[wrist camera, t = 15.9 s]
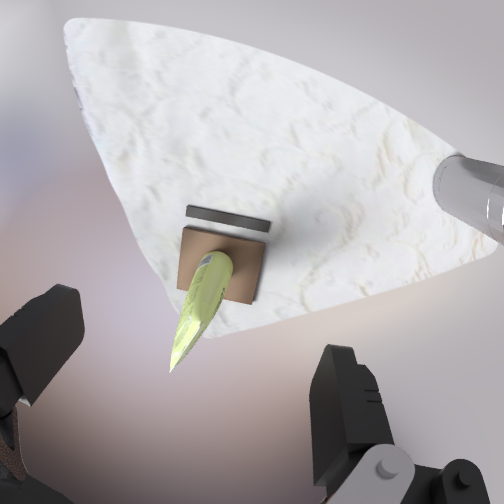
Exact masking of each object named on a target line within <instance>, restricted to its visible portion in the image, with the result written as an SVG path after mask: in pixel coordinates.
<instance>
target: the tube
mask: <svg viewBox="0 0 504 504" xmlns="http://www.w3.org/2000/svg"><path fill="white" fill-rule="evenodd" d="M232 272H233V263H232V261H231V259H230V258H229V257H228V256H227V255H226V254H225V253H223V252H219V251H212V252H209V253H207V254H206V255H205V256H204V257H203V258H202V260H201V262H200V264H199V266H198V268H197V270H196V273H195V275H194V277H193V280H192V282H191V285H190V288H189V290H188V293H187V296H186V299H185V302H184V306H183V309H182V312H181V316H180V320H179V324H178V328H177V331H176V336H175V340H174V344H173V349H172V356H171V365H170V366H171V367H170V368H171V369H170V373H171V371H172V370H173V368H174V367H175V366H176V365H178V364H179V363H180V361H182V359H183V358H184V357H185V356H186V355H187V354H188V353H189V351H190V350H191V349H192V347H193V346H194V345H195V343H196V342H197V340H198V339H199V338H200V336H201V335H202V333H203V332H204V330H205V329H206V328H207V326H208V325H209V323H210V322H211V320H212V319H213V317H214V316H215V314H216V312H217V310H218V308H219V306H220V304H221V302H222V300H223V297H224V295H225V292H226V290H227V287H228V284H229V281H230V279H231V276H232Z"/></svg>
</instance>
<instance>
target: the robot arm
mask: <svg viewBox="0 0 504 504" xmlns="http://www.w3.org/2000/svg"><path fill="white" fill-rule="evenodd" d="M433 192H434V196H435V199H436V202H437V203H438V205H439V206H440V207H441V208H442V210H444V211H445V212H447V213H449V214H451V215H453V216H454V217H456V218H458V219H460V220H461V221H463V222H465V223H467V224H469V225H470V226H472V227H474V228H476V229H477V230H479V231H481V232H482V233H484V234H486V235H487V236H489V237H491V238H492V239H494V240H496V241H497V242H499V243H501V244H502V245H504V166H500V165H496V164H492V163H488V162H484V161H479V160H474V159H470V158H465V157H459V156H451V157H449V158H447V159H445V160H444V161H442V163H441V164H440V165H439V166H438V168H437V170H436V172H435V175H434V180H433ZM84 332H85V327H84V320H83V314H82V308H81V300H80V294H79V292H78V290H77V289H74V288H71V287H67V286H64V285H61V284H56V285H55V286H53V287H52V288H51V289H50V290H48V291H47V292H46V293H45V294H43V295H40V296H38V297H36V298H33V299H31V300H30V301H29V302H27V303H26V304H25V305H24V306H22V308H21V309H19V310H18V311H17V312H15V313H14V316H11V317H9V318H8V319H7V320H6V321H5V322H4V323H3V324H2V325H0V504H74V503H73V502H71V501H70V500H69V499H68V498H66V497H65V496H64V495H63V494H61V493H59V492H57V491H55V490H54V489H52V488H50V487H48V486H47V485H45V484H43V483H41V482H40V481H38V480H36V479H35V478H33V477H31V476H30V475H28V472H27V470H26V468H25V466H24V463H23V461H22V457H21V450H20V441H19V428H18V411H17V407H16V405H15V404H16V403H17V402H18V400H20V401H22V402H24V403H25V404H27V405H29V406H30V407H31V406H32V405H33V403H34V402H35V401H36V399H37V398H38V397H39V395H40V394H41V393H42V391H43V390H44V389H45V388H46V386H47V385H48V384H49V382H50V381H51V380H52V379H53V377H54V376H55V375H56V374H57V372H58V371H59V370H60V368H61V367H62V366H63V365H64V364H65V362H66V361H67V360H68V359H69V357H70V356H71V355H72V354H73V352H74V351H75V350H76V349H77V348H78V346H79V345H80V344H81V342H82V340H83V337H84ZM309 402H310V415H311V416H310V417H311V434H312V453H313V479H314V480H313V481H314V486H326V491H327V496H326V497H325V498H324V499H323V500H322V502H321V503H320V504H490V501H489V497H488V494H487V490H486V486H485V483H484V480H483V477H482V474H481V472H480V470H479V468H478V467H477V466H476V465H475V464H473V463H472V462H470V461H468V460H465V459H456V460H453V461H451V462H450V463H448V464H447V465H446V466H445V467H444V468H443V469H436V468H430V467H425V466H419V465H416V464H414V463H413V460H412V458H411V457H410V455H409V454H408V453H407V452H406V451H404V450H403V449H401V448H400V447H397V446H395V444H394V441H393V437H392V434H391V430H390V426H389V423H388V419H387V416H386V412H385V409H384V405H383V404H382V398H381V395H380V393H379V389H378V385H377V382H376V379H375V377H374V375H373V374H372V373H371V372H370V370H369V369H368V368H367V367H366V366H365V365H360V364H357V361H356V358H355V354H354V350H353V348H352V347H346V346H338V345H330V344H328V345H327V346H326V347H325V349H324V352H323V354H322V357H321V360H320V362H319V365H318V367H317V370H316V372H315V374H314V377H313V379H312V383H311V387H310V394H309Z"/></svg>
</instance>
